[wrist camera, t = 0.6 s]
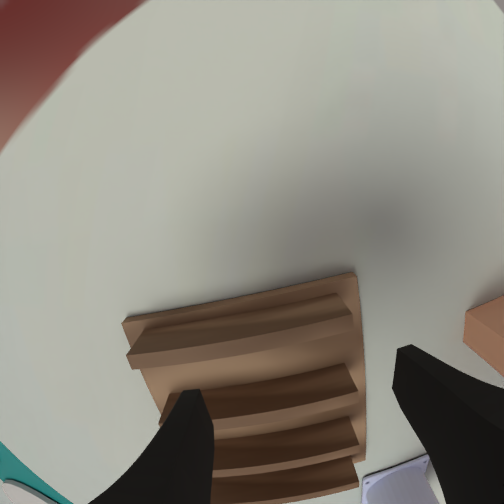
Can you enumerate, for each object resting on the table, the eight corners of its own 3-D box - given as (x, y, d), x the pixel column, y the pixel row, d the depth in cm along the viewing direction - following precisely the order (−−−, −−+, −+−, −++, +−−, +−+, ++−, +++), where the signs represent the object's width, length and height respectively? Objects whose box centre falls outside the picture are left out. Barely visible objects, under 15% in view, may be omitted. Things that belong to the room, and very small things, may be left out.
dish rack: (362, 453, 24) (374, 485, 20) (203, 479, 25) (198, 513, 20) (352, 272, 20) (376, 294, 16) (126, 317, 21) (100, 346, 16)
